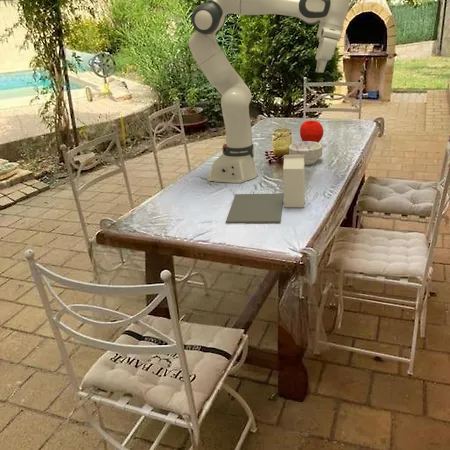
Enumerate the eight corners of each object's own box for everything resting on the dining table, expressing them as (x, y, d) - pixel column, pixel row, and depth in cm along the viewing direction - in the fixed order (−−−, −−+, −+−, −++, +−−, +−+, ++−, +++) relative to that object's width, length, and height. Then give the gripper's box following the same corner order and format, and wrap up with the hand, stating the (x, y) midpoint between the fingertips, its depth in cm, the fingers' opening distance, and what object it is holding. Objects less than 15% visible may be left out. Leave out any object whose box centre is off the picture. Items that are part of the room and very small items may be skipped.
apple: (328, 146, 244) (328, 120, 238) (311, 151, 238) (311, 124, 233) (311, 142, 253) (311, 116, 247) (295, 147, 247) (294, 121, 242)
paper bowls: (300, 169, 215) (300, 152, 212) (283, 161, 228) (282, 144, 224) (328, 162, 220) (329, 146, 217) (310, 155, 233) (310, 139, 229)
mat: (225, 223, 168) (225, 221, 167) (235, 196, 191) (235, 194, 191) (280, 223, 165) (280, 221, 164) (283, 195, 188) (283, 193, 187)
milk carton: (303, 207, 175) (303, 157, 167) (284, 207, 177) (282, 158, 169) (304, 200, 181) (304, 151, 173) (285, 200, 183) (284, 152, 175)
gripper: (317, 34, 189) (308, 70, 193) (324, 30, 170) (314, 70, 174) (333, 38, 189) (323, 74, 193) (342, 34, 170) (331, 74, 174)
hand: (319, 72), depth 183 cm, fingers open, 8 cm apart
